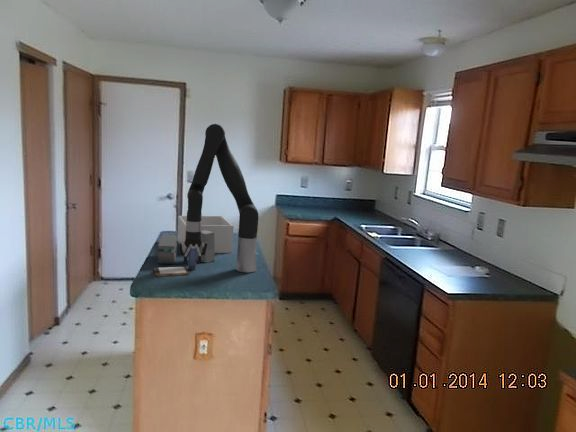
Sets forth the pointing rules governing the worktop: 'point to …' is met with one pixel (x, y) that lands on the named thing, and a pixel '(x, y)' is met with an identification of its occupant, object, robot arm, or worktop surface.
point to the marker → (192, 258)
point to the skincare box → (210, 250)
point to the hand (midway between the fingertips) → (192, 263)
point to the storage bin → (212, 224)
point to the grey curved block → (167, 249)
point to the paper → (172, 270)
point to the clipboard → (170, 273)
